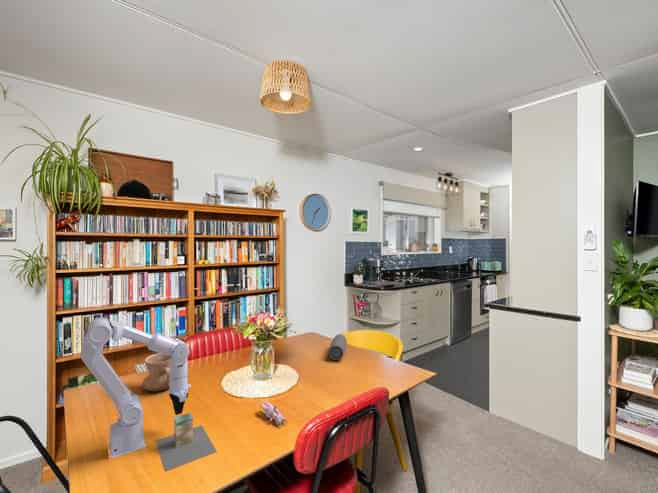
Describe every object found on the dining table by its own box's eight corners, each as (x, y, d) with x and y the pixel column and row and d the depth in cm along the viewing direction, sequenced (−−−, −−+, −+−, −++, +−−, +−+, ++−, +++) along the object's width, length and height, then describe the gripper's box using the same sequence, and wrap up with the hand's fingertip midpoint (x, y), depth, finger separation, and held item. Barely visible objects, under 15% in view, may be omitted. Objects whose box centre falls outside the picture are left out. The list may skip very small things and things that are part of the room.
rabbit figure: (290, 426, 118) (268, 405, 129) (292, 411, 117) (270, 391, 128) (276, 433, 114) (255, 410, 124) (278, 418, 113) (256, 396, 124)
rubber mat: (165, 473, 91) (165, 471, 91) (155, 441, 106) (155, 440, 106) (217, 453, 100) (217, 451, 100) (201, 426, 115) (201, 425, 115)
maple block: (176, 447, 102) (176, 422, 102) (174, 440, 106) (174, 417, 105) (192, 441, 105) (192, 417, 105) (189, 435, 109) (190, 412, 108)
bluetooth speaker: (332, 348, 202) (333, 332, 202) (347, 349, 201) (347, 333, 201) (327, 361, 180) (328, 344, 179) (344, 362, 178) (344, 345, 178)
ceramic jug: (136, 386, 146) (136, 356, 145) (168, 376, 157) (168, 348, 156) (151, 400, 134) (151, 368, 133) (185, 388, 145) (185, 358, 144)
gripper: (195, 379, 108) (195, 418, 108) (186, 366, 120) (185, 401, 120) (173, 385, 104) (173, 425, 104) (165, 370, 116) (165, 407, 116)
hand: (178, 413), depth 112 cm, fingers closed
